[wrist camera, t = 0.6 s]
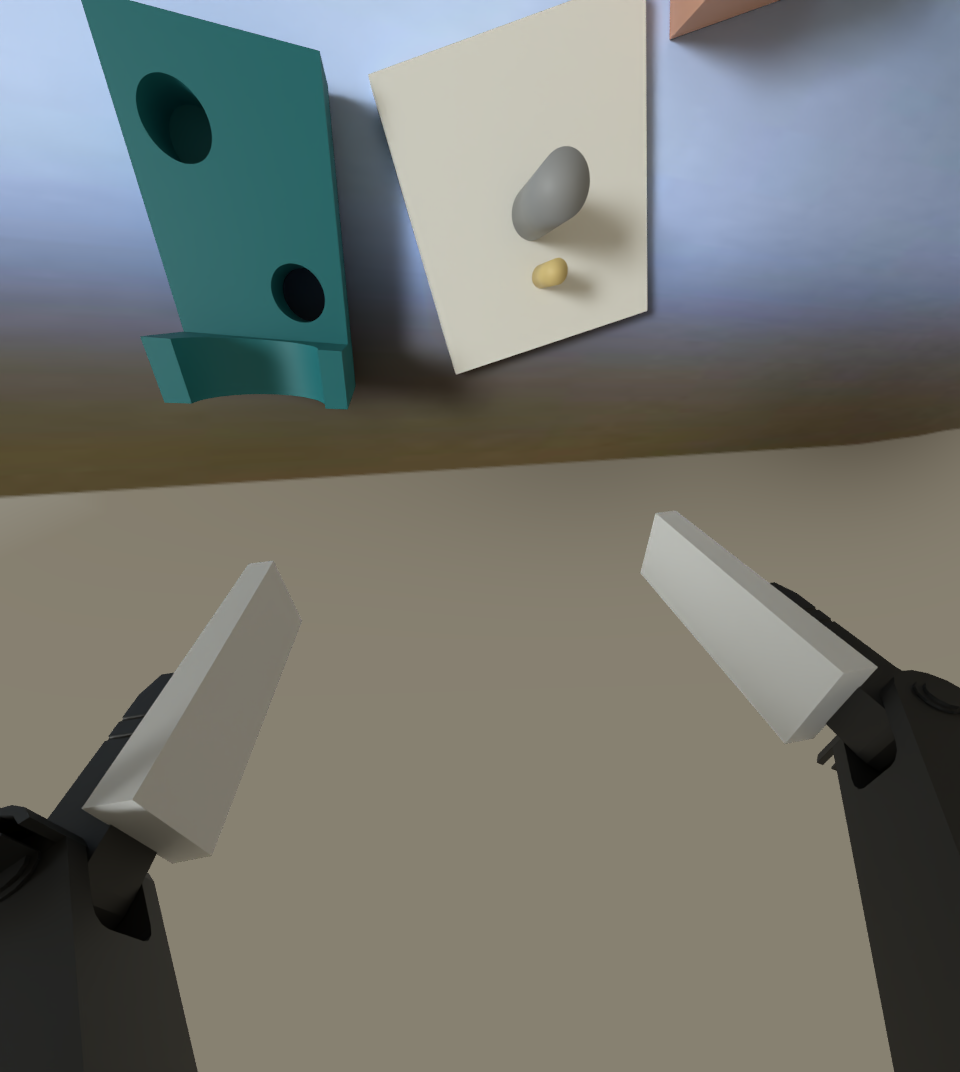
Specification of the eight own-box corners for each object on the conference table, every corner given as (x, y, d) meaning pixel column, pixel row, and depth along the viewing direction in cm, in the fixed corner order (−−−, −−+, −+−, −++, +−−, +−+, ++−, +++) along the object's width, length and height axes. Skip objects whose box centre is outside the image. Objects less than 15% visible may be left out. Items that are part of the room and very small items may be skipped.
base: (371, 87, 23) (348, -14, 16) (633, -8, 23) (731, -156, 15) (454, 372, 33) (464, 388, 26) (638, 311, 32) (699, 310, 25)
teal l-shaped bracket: (356, 383, 33) (347, 409, 24) (225, 376, 30) (164, 402, 22) (330, 96, 23) (301, -26, 15) (137, 50, 21) (-32, -129, 12)
